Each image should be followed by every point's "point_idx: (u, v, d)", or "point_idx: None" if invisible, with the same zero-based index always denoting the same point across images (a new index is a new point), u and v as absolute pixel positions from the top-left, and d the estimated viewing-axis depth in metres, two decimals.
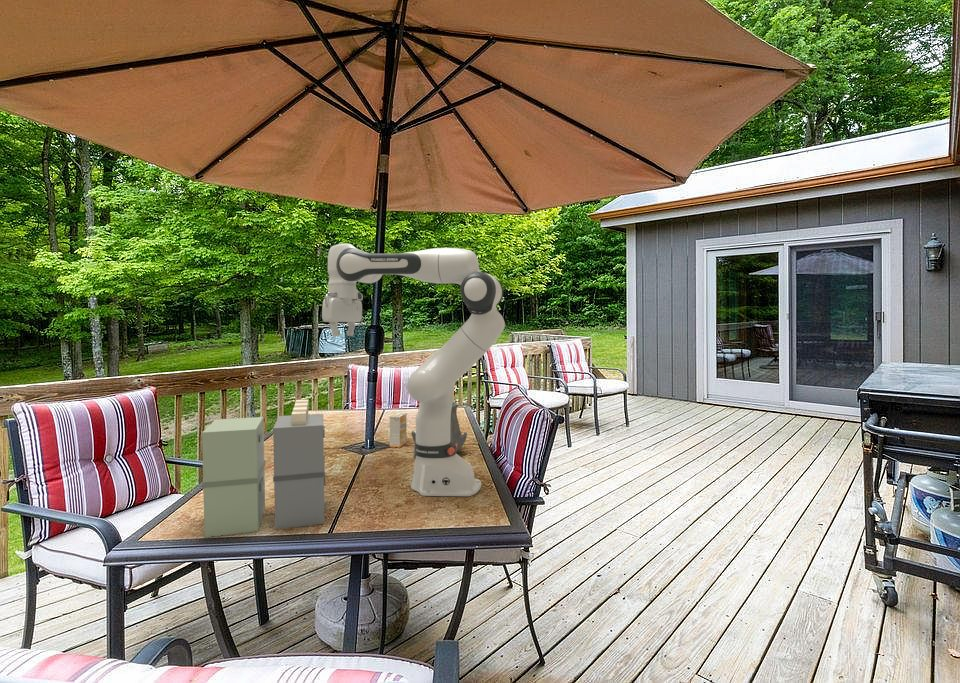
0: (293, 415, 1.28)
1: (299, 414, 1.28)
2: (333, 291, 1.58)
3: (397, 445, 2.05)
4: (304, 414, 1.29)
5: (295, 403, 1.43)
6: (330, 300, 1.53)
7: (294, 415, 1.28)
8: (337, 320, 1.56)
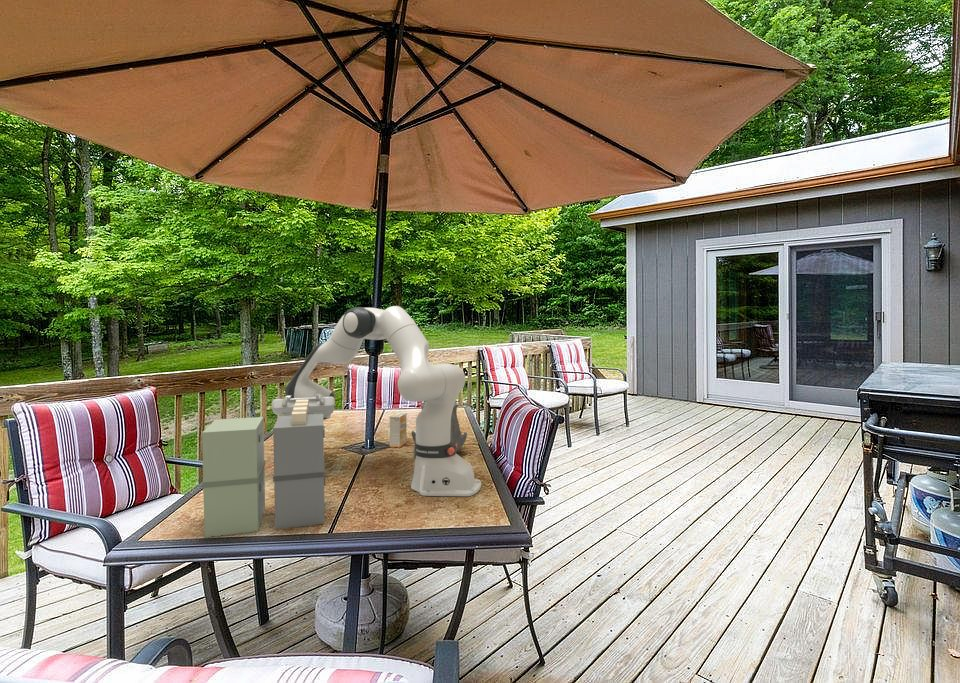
0: (293, 415, 1.28)
1: (299, 414, 1.28)
2: None
3: (397, 445, 2.05)
4: (304, 414, 1.29)
5: (295, 403, 1.43)
6: None
7: (294, 415, 1.28)
8: None
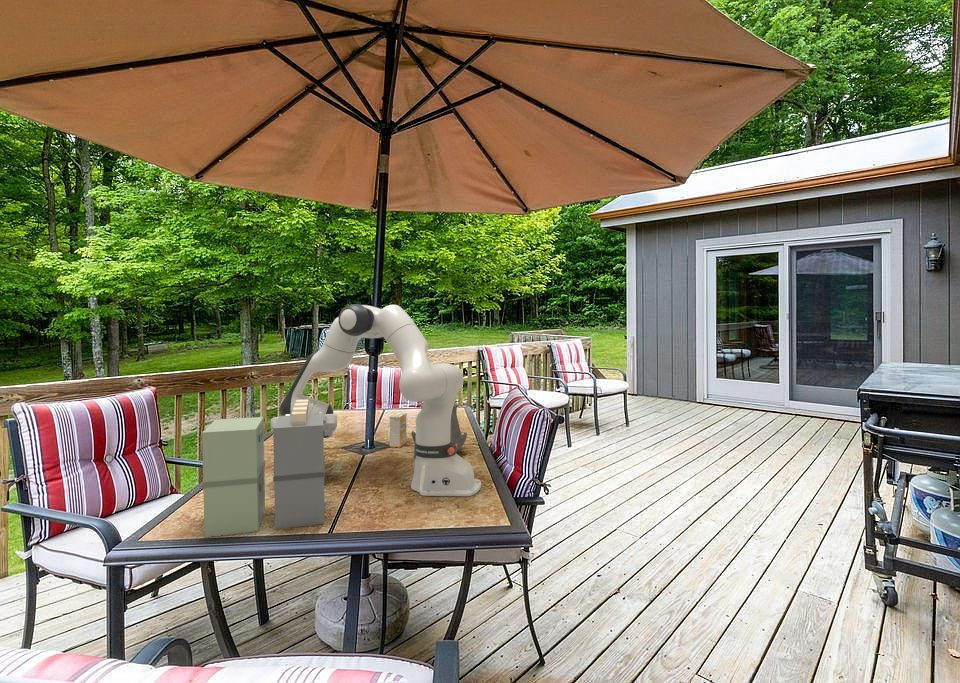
0: (293, 415, 1.28)
1: (299, 414, 1.28)
2: None
3: (397, 445, 2.05)
4: (304, 414, 1.29)
5: (295, 403, 1.43)
6: None
7: (294, 415, 1.28)
8: None
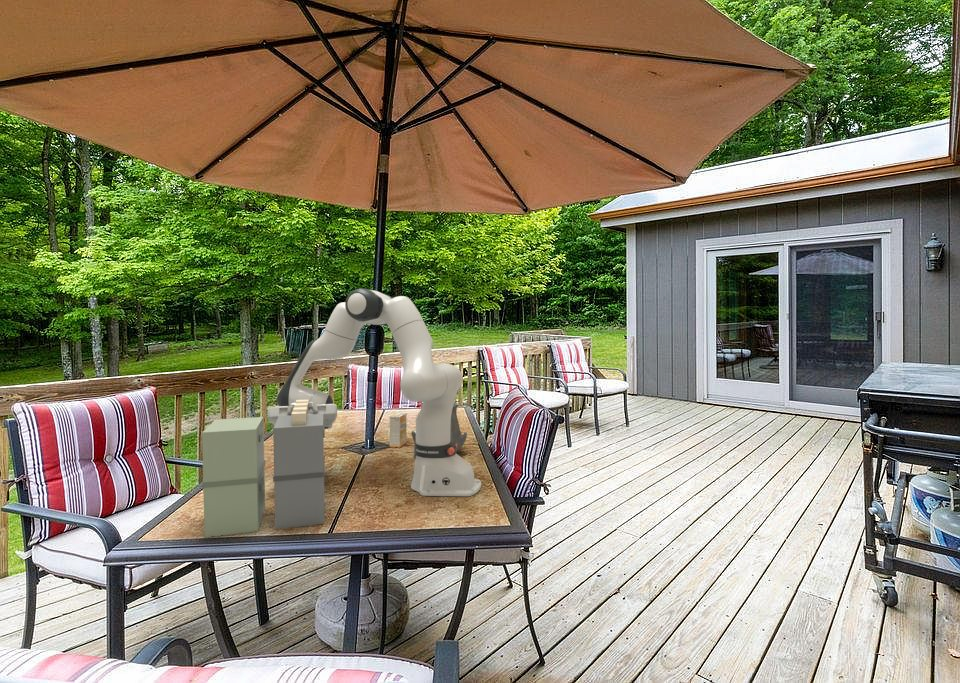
0: (293, 415, 1.28)
1: (299, 414, 1.28)
2: None
3: (397, 445, 2.05)
4: (304, 414, 1.29)
5: (295, 403, 1.43)
6: None
7: (294, 415, 1.28)
8: (280, 406, 1.50)
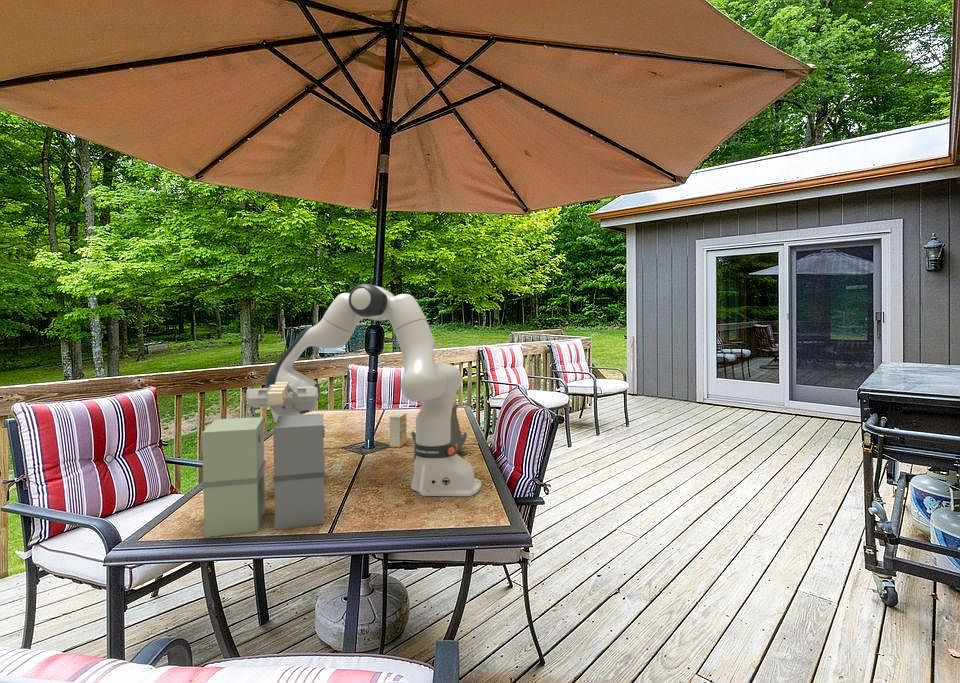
0: (269, 395, 1.26)
1: (275, 394, 1.26)
2: None
3: (397, 445, 2.05)
4: (280, 394, 1.27)
5: (274, 384, 1.41)
6: None
7: (270, 395, 1.26)
8: None
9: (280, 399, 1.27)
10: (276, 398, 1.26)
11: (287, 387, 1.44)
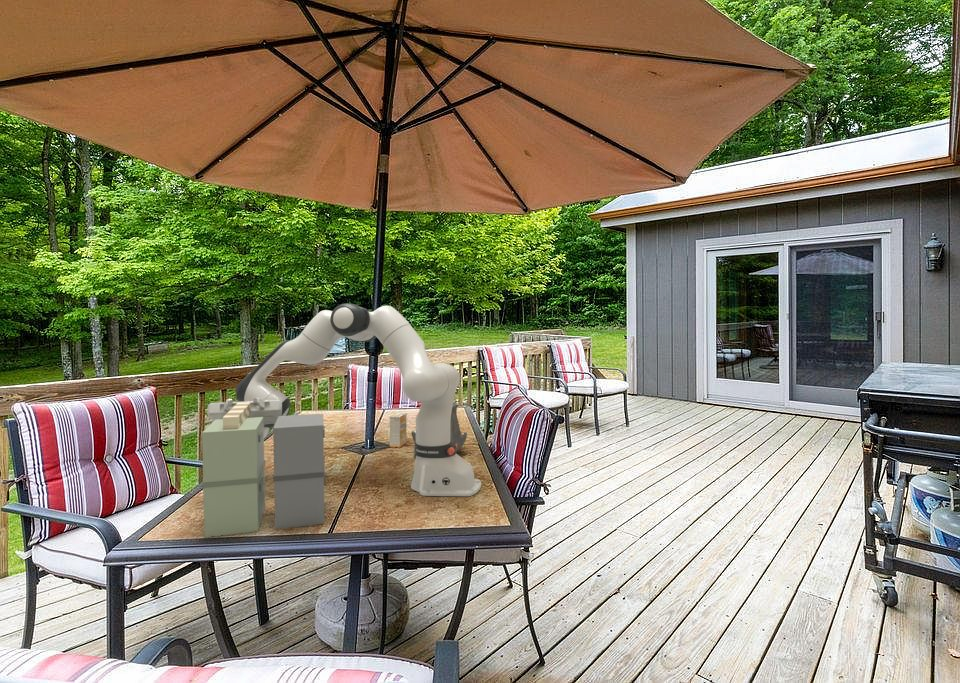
0: (224, 419, 1.23)
1: (231, 418, 1.24)
2: None
3: (397, 445, 2.05)
4: (236, 418, 1.24)
5: (234, 406, 1.38)
6: None
7: (226, 419, 1.23)
8: None
9: (236, 423, 1.24)
10: (232, 422, 1.24)
11: (248, 408, 1.41)
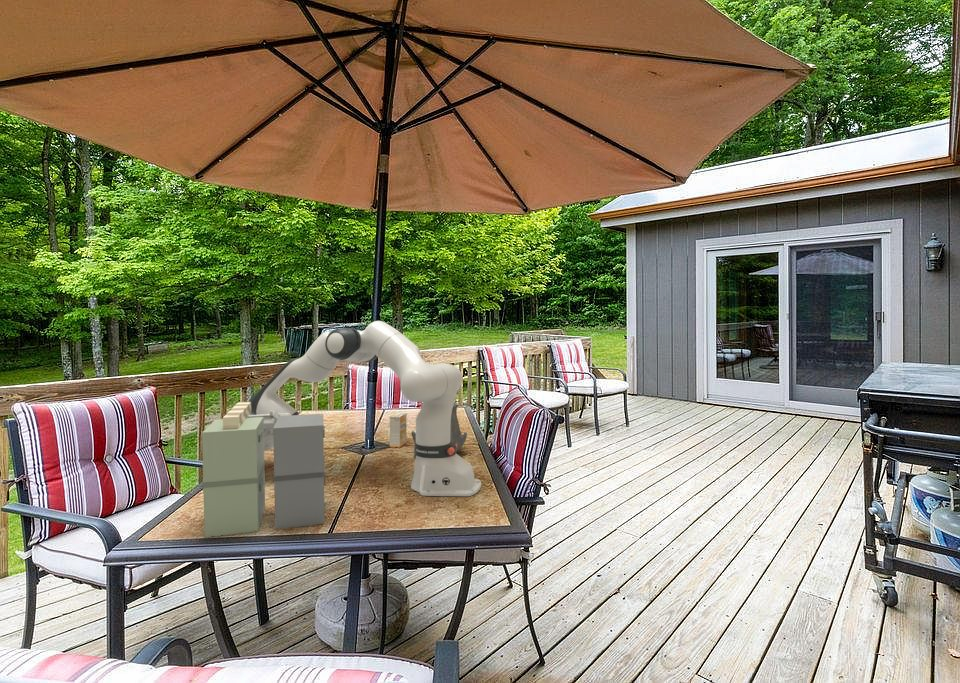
0: (224, 419, 1.23)
1: (231, 418, 1.24)
2: None
3: (397, 445, 2.05)
4: (236, 418, 1.24)
5: (234, 406, 1.38)
6: None
7: (226, 419, 1.23)
8: None
9: (236, 423, 1.24)
10: (232, 422, 1.24)
11: (248, 408, 1.41)
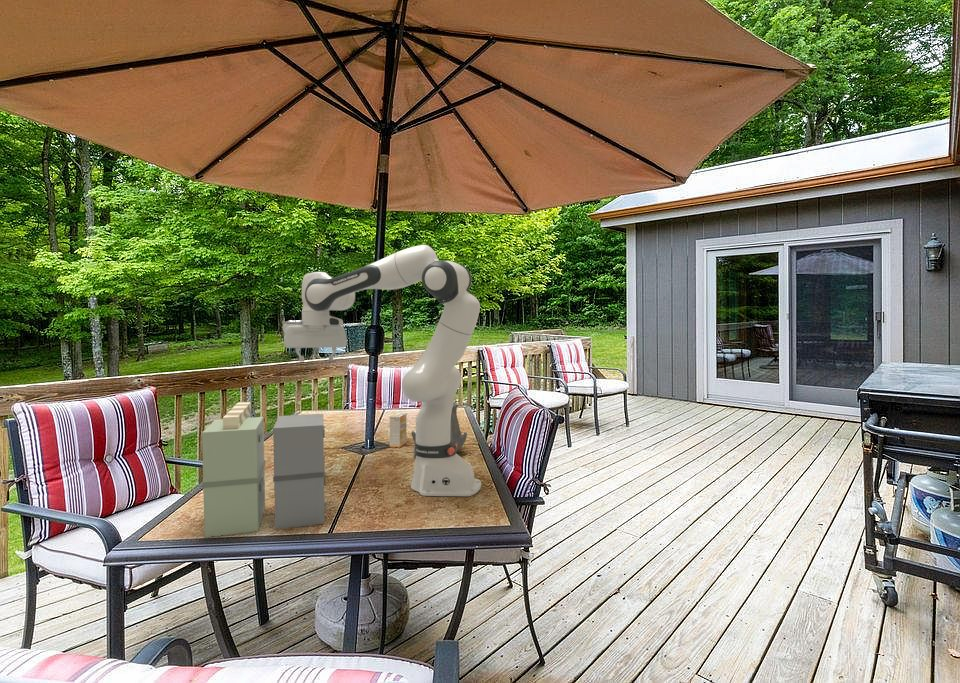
0: (224, 419, 1.23)
1: (231, 418, 1.24)
2: None
3: (397, 445, 2.05)
4: (236, 418, 1.24)
5: (234, 406, 1.38)
6: (286, 328, 1.63)
7: (226, 419, 1.23)
8: (295, 346, 1.64)
9: (236, 423, 1.24)
10: (232, 422, 1.24)
11: (248, 408, 1.41)
